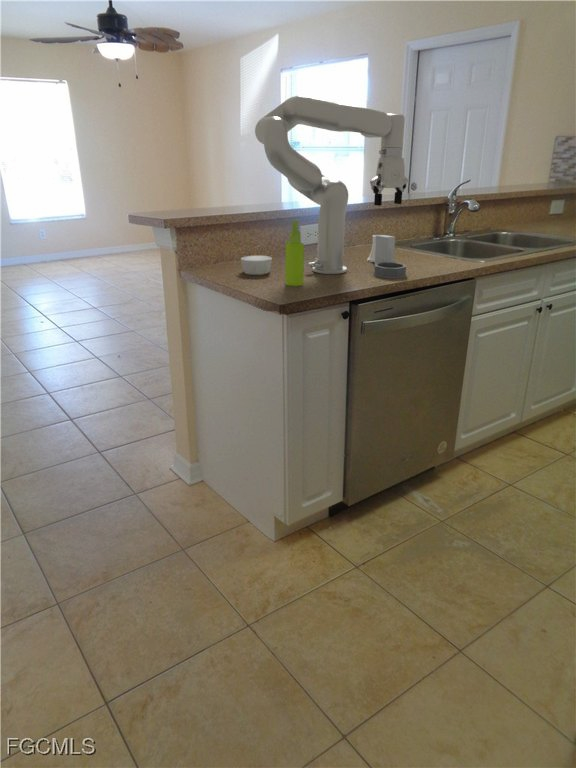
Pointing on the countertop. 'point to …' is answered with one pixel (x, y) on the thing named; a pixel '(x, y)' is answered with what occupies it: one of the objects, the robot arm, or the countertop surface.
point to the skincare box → (384, 248)
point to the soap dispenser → (294, 258)
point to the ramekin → (256, 264)
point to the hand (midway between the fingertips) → (387, 204)
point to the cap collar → (390, 270)
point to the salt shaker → (373, 250)
